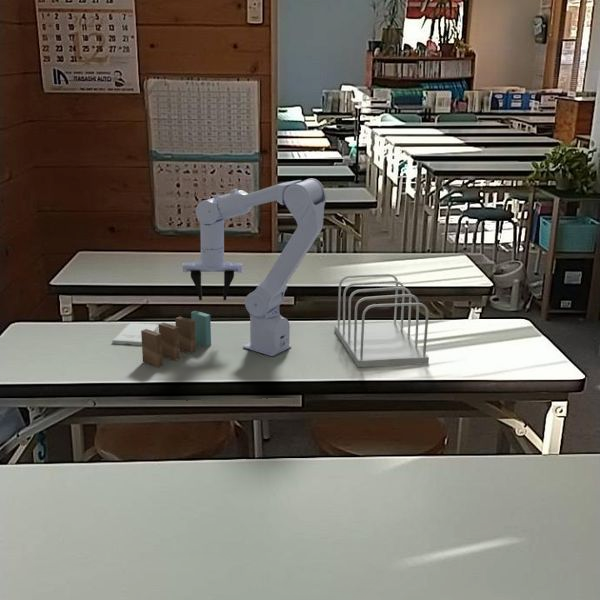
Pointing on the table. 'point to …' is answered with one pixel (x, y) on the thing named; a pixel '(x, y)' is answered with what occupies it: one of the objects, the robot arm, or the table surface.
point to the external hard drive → (133, 333)
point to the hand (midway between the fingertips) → (212, 299)
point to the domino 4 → (202, 328)
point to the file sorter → (381, 330)
